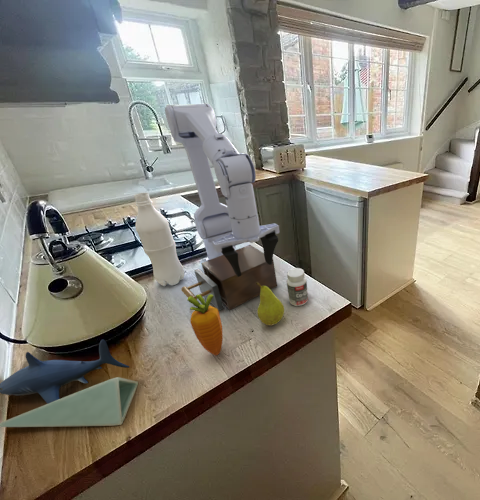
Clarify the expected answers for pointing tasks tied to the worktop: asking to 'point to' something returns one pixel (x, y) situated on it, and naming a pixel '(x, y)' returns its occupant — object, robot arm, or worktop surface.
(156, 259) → the water bottle
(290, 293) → the pill bottle
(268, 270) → the cabinet
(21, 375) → the toy
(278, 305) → the fruit
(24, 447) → the worktop surface
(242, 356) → the worktop surface
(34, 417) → the hollow green wedge
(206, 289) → the drawer
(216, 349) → the carrot
